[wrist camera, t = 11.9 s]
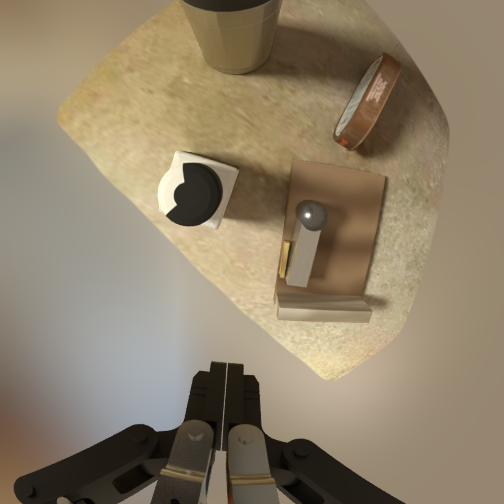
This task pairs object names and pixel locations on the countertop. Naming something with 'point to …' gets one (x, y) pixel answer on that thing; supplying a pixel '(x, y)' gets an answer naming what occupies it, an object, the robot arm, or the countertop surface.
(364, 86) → the tin
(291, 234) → the board
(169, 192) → the medicine bottle
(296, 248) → the swing bar
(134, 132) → the countertop surface
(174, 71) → the countertop surface
